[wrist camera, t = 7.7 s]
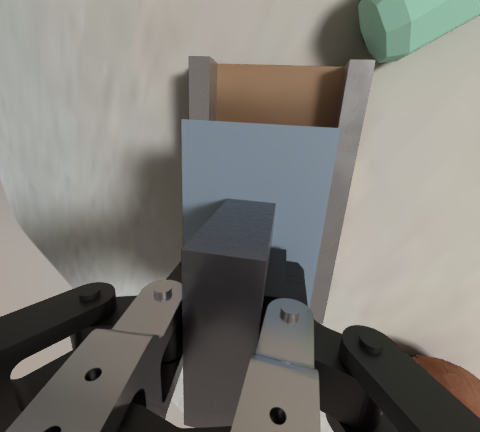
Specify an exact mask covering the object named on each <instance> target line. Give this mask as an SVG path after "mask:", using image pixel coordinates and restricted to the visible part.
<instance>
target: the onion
mask: <svg viewBox="0 0 480 432" xmlns="http://www.w3.org/2000/svg"><path fill="white" fill-rule="evenodd" d="M411 358H412V359H413V360H415V361H416V362H417V363H418V364H419V365H420V366H421V367H422V368H424V369H425V370H426V371H427V372H428V373H429V374H430V375H431V376H433V377H434V378H435V379H436V380H437V381H438V382H439V383H441V384H442V385H443V386H444V387H445V388H446V389H447V390H448V391H450V392H451V393H452V394H453V395H454V396H455V397H456V398H457V399H459V400H460V401H461V402H462V403H463V404H464V405H465V406H466V407H468V408H469V409H470V410H471V411H472V412H473V413H474V414H475V415H477V416H478V417H479V418H480V380H479V379H478V378H477V377H475V376H474V375H473V374H472V373H470V372H469V371H467V370H465V369H464V368H462V367H460V366H457V365H455V364H452V363H450V362H448V361H445V360H443V359H438V358H434V357H427V356H421V355H416V357H411ZM388 420H389V419H388ZM397 431H398V430H397Z"/></svg>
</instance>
